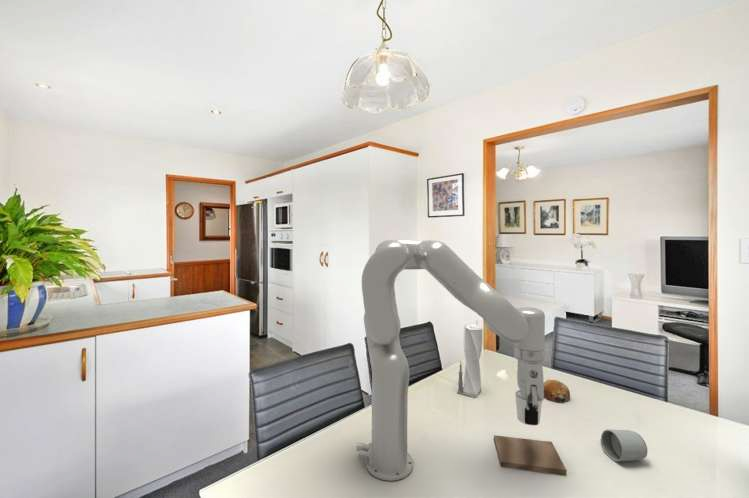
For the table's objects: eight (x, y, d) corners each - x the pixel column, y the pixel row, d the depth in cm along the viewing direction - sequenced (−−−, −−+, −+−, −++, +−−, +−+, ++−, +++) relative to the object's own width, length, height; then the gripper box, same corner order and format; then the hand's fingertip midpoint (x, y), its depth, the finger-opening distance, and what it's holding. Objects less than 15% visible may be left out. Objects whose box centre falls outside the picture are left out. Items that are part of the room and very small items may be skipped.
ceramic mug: (650, 466, 90) (650, 437, 90) (622, 468, 89) (622, 439, 89) (617, 442, 100) (617, 416, 100) (591, 444, 99) (592, 418, 99)
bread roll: (570, 406, 129) (570, 384, 131) (569, 405, 121) (570, 381, 123) (541, 399, 134) (542, 378, 136) (538, 397, 126) (540, 375, 128)
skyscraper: (465, 385, 138) (466, 317, 137) (485, 390, 133) (486, 320, 132) (457, 393, 131) (458, 322, 130) (477, 399, 126) (478, 325, 125)
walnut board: (500, 467, 89) (500, 461, 89) (493, 440, 101) (493, 435, 101) (566, 475, 86) (566, 469, 86) (551, 446, 98) (551, 441, 98)
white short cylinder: (545, 428, 89) (545, 402, 89) (517, 425, 90) (518, 399, 90) (538, 414, 96) (538, 390, 95) (512, 412, 97) (512, 388, 97)
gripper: (554, 366, 83) (553, 437, 84) (535, 344, 100) (534, 403, 101) (521, 363, 85) (520, 434, 85) (508, 342, 101) (508, 401, 102)
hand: (528, 417), depth 93 cm, fingers closed on white short cylinder, 5 cm apart
